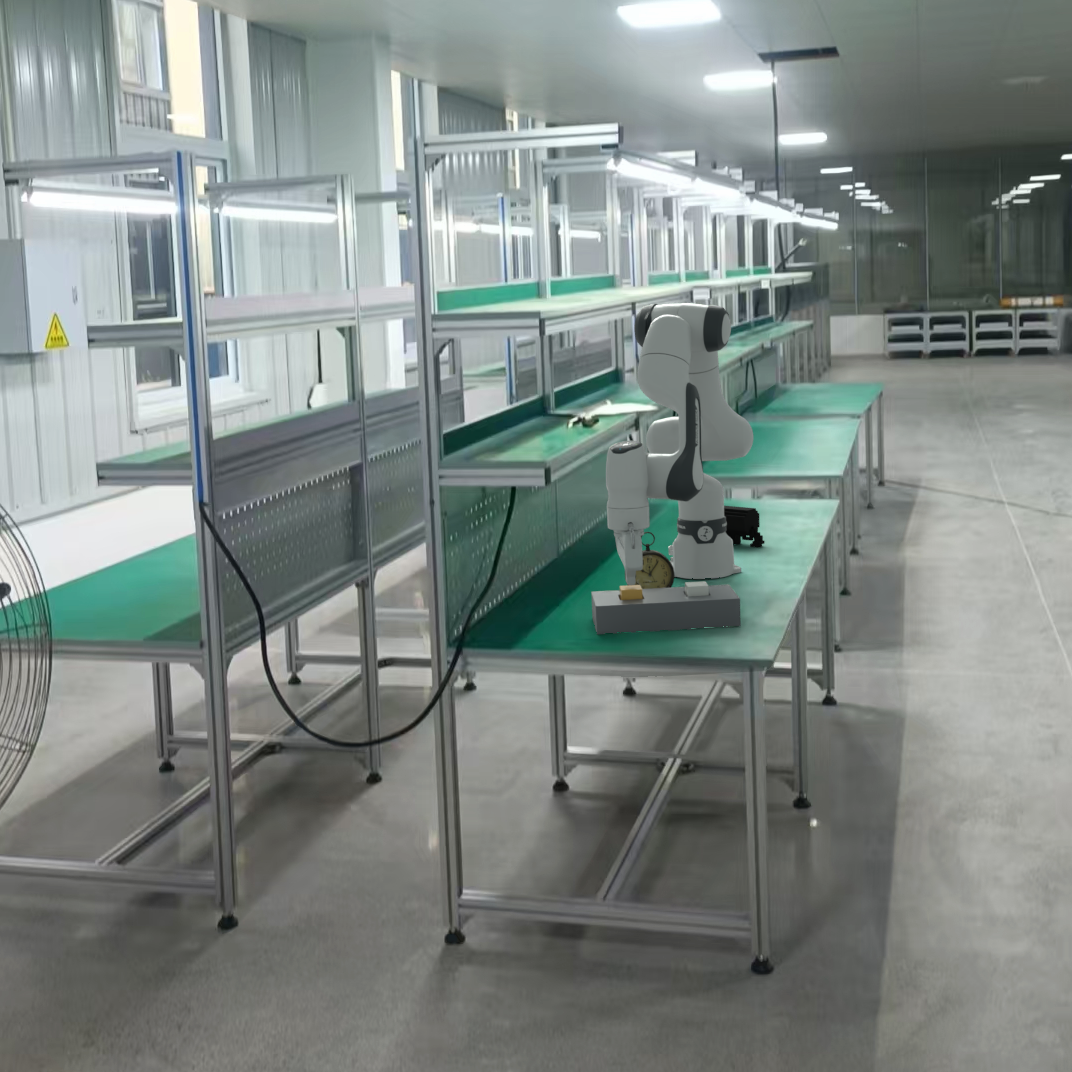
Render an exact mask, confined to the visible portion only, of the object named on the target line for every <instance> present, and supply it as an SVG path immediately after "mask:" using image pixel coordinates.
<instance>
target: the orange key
mask: <svg viewBox="0 0 1072 1072" xmlns="http://www.w3.org/2000/svg"><path fill="white" fill-rule="evenodd" d="M619 590H620V600H632V599H643V597H642V588H641V586H640V585H619Z"/></svg>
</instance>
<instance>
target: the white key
mask: <svg viewBox="0 0 1072 1072" xmlns="http://www.w3.org/2000/svg"><path fill="white" fill-rule="evenodd" d="M708 585H709V584H708V583H707V582H706V580H705V581H688V582H687V581H686V582H684V587H685V595H686V597H688V596H707V595H709V586H708Z"/></svg>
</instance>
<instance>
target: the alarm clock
mask: <svg viewBox="0 0 1072 1072" xmlns="http://www.w3.org/2000/svg"><path fill="white" fill-rule="evenodd" d="M645 534H650V535H651V536H652V537H653V540H652V542H651V543H646V544H645V543H644V542H642V546H645V549H644V550H643V549H642V556H643V568H642V570H639V571H636V576H635V581H636V583H635V585H640V586H641V588H642V589H651V588H670V587H673V584H674V582H675V577H674V568H673V566H672V564H671V562H670V560H669V558H668V557H667V556H666V555H664V554H663V553H661V552H660V551H659V550H656V549H655V550H654V549H651V548H650V546H653V544H654V543H655V542H656V541H655V540H656V537H655V535H654V534H653V532H651V531H644V535H645ZM644 535H642V536H641V539H642V537H643V536H644ZM624 580H625V582H626V574H625V573H624ZM626 586H628V584H627V582H626Z"/></svg>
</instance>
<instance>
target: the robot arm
mask: <svg viewBox="0 0 1072 1072" xmlns="http://www.w3.org/2000/svg"><path fill="white" fill-rule="evenodd" d="M730 319H731V318H730V314H729V312H728V311H727V310H726V308H725V307H723V306H720V305H716V304H709V305H707V304H701V303H692V302H682V303H665V304H658V303H651V304H648V305H644V306H642V308H641V309H639V311H637V314H636V316H635V320H634V324H633V325H634V327H633V328H634V336H635V340H636V343H638V344H637V345H639V346H640V347H641V351H640V356H639V362H638V368H637V373H636V374H637V375H636V376H637V377H636V378H637V384H638V386H639V389H640V390H641V392H642V393H643V395H644V396H645V397H647V399H649V400H650V401H652V402H654V403H655V404H657V405H659V406H662V407H664V408H667V409H670V410H672V411H674V412H675V413H677V416H669V417H665V418H664V417H663V418H661V419H656V420H654V421H653V422H652V423H650V426H649V427H648V430H647V431H646V435H645V444H646V448H647V450H648V452H647V451H646V449H645V447H644V444H643V443H642V441H641V442H640V441H638V440H623V441H618V442H616V443H613V444H612V445H610V446H609V448H608V449H607V453H606V462H605V486H606V490H607V495H608V497H607V502H606V515H607V516H606V517H607V529H609V530H612V531H613V535H614V538H615V545H616V546H615V547H616V550H617V554H618V556H619V558H620V560H621V562H622V565H623V568H624V575H625V574H626V580H625V582H627V583H626V585H627V584H628V585H635V583H636V581H635V576H636V571H639V570H642V568H643V556H642V551H643V544H642V543H643V542H642V538H641V536H642V535H643V536H644V535H645V534H644V532H645V529H648V528H649V527H650V503H649V502H650V501H649V499H658V500H659V499H661V500H662V499H663V500H671V501H672V500H673V501H677V503H678V506H677V507H678V517H677V520H676V521H677V522H676V530H677V533H678V534H677V536H676V538H675V539H673V540H674V541H673V542H672V544H670V545H669V546H668V555H669V556H671V557H670V558H669V559H670V560H669V561H670V562H671V564H672V566H673V568H674V578H676V577H677V578H681V579H690V580H706V579H705V578H711V579H718V578H719V577H720V578H724V577H729V576H731V575H732V574H737V573H738V574H739V573H742V567H741V566H739V565H737V564H735V552H734V545H733V540H732V539H731V538H730V537H729V536H728V535H727V534H726V532H725V531H726V530H727V529H726V525H727V521H726V517H725V516H724V506H725V496H724V495H725V494H724V492H725V491H724V487H723V486H724V485H722V483H721V481H719V480H718V479H716V478H715V477H714V476H711V475H710V474H707V473H705V472H704V468H703V467H704V466H703V462H714V461H716V462H718V461H720V462H721V461H730V460H736V459H740V458H743V457H746V455H748V453H749V452H750V451H751V449H752V446H753V444H754V432H753V428H752V426H751V424H750V423H749V421H748V420H747V419H746V418H745V417H744V416H741V415H739V414H738V413H737V412H736V411H735V410H734V409H733V408H731V406H730V405H729V404H728V402H727V400H726V398H725V397H724V394H723V392H722V386H721V378H720V365H719V364H720V363H719V353H718V351H721V350H722V349H723V348H724V347H726V346H727V345H728V342H729V339H730V336H731V333H732V332H731V331H732V324H731V320H730ZM643 536H642V537H643ZM692 578H693V579H692ZM628 585H627V586H628Z"/></svg>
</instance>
